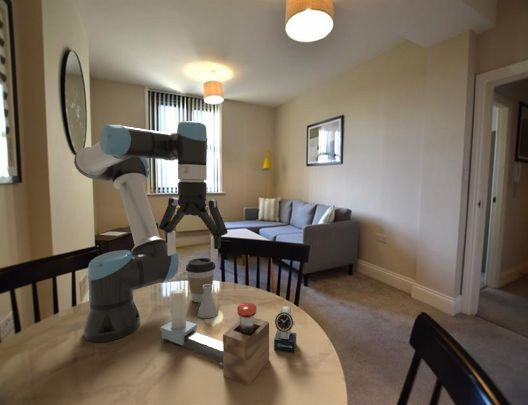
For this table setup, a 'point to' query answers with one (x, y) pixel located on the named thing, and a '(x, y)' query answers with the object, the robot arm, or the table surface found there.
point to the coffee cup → (199, 276)
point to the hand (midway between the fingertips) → (192, 257)
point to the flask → (207, 304)
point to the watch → (284, 331)
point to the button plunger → (246, 318)
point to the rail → (203, 345)
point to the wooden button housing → (245, 352)
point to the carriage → (178, 319)
